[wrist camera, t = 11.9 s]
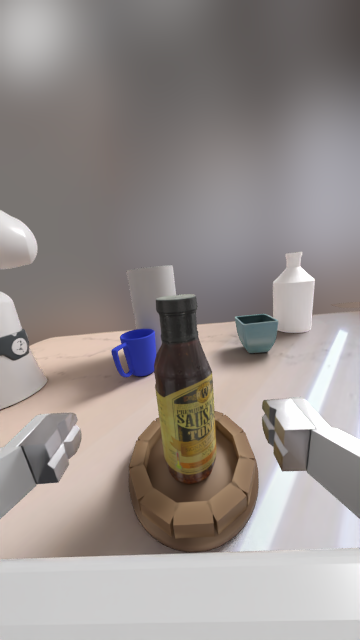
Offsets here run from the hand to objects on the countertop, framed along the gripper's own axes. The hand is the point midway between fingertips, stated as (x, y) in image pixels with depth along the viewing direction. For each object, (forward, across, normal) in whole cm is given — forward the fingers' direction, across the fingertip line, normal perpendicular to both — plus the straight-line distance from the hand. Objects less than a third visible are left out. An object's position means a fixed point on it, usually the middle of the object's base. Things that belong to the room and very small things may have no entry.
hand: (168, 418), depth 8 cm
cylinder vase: (+46, +8, +18) cm, 50 cm away
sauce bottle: (+11, 0, +16) cm, 20 cm away
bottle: (+57, -37, +17) cm, 70 cm away
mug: (+34, +12, +18) cm, 40 cm away
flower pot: (+42, -19, +17) cm, 49 cm away
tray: (+11, 0, +17) cm, 20 cm away
